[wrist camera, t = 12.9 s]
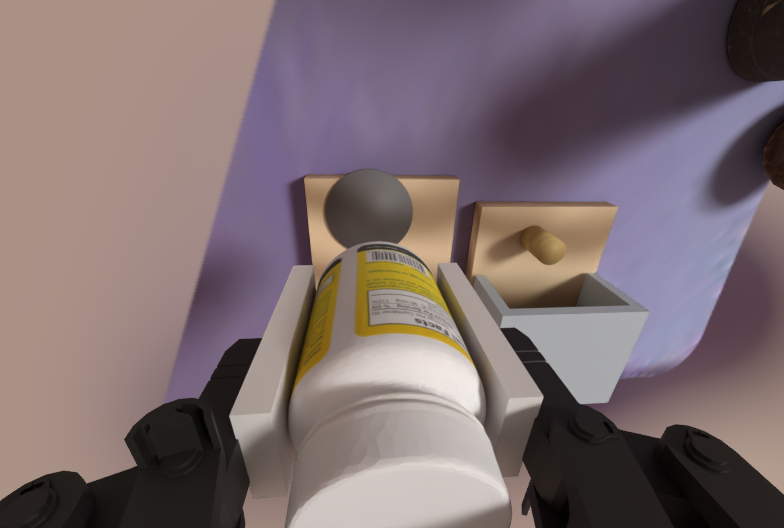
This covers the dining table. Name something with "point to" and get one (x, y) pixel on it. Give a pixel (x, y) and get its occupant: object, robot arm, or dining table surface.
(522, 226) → the pattern board
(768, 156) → the mushroom
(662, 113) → the dining table surface
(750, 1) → the container
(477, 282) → the cover
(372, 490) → the supplement bottle
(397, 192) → the board
